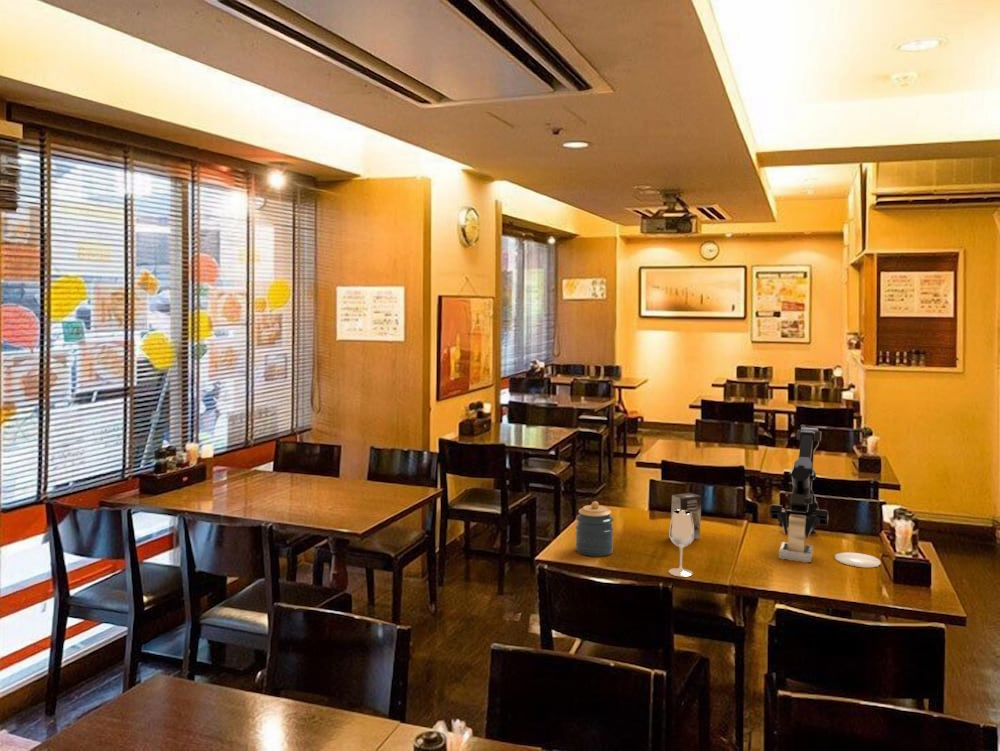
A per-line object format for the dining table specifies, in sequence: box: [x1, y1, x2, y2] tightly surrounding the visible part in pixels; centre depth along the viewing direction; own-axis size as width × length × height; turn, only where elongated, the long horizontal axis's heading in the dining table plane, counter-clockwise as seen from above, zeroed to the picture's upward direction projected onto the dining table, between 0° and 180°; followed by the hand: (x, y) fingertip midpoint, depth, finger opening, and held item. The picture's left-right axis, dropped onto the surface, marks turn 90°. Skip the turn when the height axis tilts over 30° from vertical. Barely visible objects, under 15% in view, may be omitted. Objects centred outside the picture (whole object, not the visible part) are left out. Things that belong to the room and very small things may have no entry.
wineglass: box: [668, 510, 694, 578], centre depth 254 cm, size 8×8×20 cm
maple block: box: [787, 514, 806, 552], centre depth 271 cm, size 5×5×14 cm
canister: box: [575, 500, 615, 557], centre depth 276 cm, size 13×13×18 cm
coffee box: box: [670, 492, 702, 541], centre depth 292 cm, size 9×6×16 cm
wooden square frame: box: [778, 541, 814, 563], centre depth 272 cm, size 10×10×3 cm
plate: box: [834, 551, 882, 569], centre depth 268 cm, size 14×14×1 cm
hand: (796, 535), depth 270 cm, fingers open, 6 cm apart
